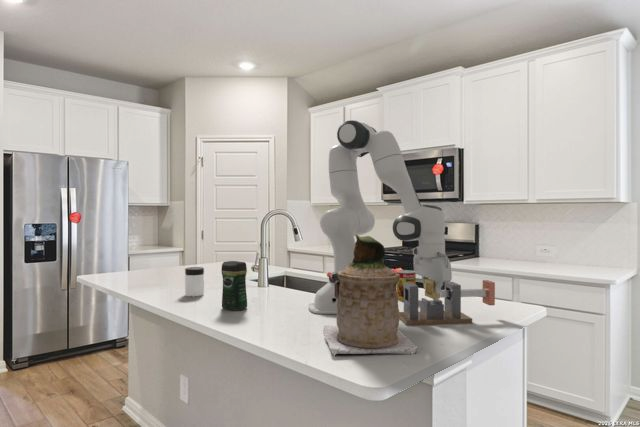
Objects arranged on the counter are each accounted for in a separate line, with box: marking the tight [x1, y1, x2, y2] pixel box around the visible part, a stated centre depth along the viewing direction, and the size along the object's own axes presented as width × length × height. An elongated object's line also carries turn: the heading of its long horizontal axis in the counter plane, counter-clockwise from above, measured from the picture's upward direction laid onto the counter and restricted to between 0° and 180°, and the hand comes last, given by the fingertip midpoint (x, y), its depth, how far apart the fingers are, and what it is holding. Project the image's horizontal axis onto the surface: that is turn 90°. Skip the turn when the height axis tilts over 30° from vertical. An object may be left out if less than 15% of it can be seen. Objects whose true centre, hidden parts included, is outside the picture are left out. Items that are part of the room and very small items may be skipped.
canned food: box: [396, 269, 417, 302], centre depth 189 cm, size 8×8×12 cm
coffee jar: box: [220, 260, 248, 311], centre depth 174 cm, size 10×8×19 cm
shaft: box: [440, 279, 496, 306], centre depth 157 cm, size 19×5×8 cm, turn 96°
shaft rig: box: [399, 281, 473, 326], centre depth 156 cm, size 23×12×12 cm, turn 96°
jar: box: [184, 266, 205, 298], centre depth 201 cm, size 9×8×12 cm
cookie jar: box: [322, 234, 418, 356], centre depth 131 cm, size 25×25×32 cm
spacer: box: [424, 278, 441, 300], centre depth 156 cm, size 2×6×6 cm, turn 15°
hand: (432, 291), depth 156 cm, fingers closed on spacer, 6 cm apart
